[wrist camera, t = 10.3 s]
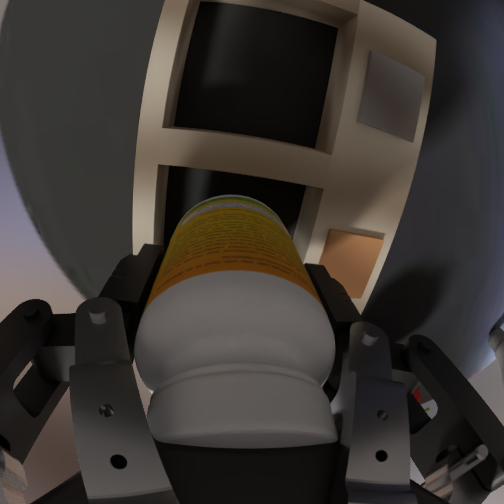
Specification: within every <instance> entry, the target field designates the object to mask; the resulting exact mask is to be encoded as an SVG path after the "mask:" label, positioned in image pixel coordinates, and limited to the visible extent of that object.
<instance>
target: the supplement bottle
mask: <svg viewBox="0 0 504 504" xmlns="http://www.w3.org/2000/svg"><path fill="white" fill-rule="evenodd" d="M134 355H135V362H136V366H137V369H138V372H139V374H140V377H141V378H142V380H143V382H144V384H145V385H146V387H147V388H148V389H149V391H150V392H151V393H152V396H151V400H150V405H149V407H148V413H147V422H148V425H149V428H150V431H151V434H152V435H153V437H154V438H155V439H156V440H158V441H160V442H164V443H172V444H180V445H189V446H200V447H215V448H283V447H297V446H308V445H317V444H325V443H333V442H336V441H337V440H338V434H337V430H336V426H335V422H334V419H333V415H332V410H331V406H330V402H329V399H328V397H327V396H326V394H325V393H324V391H323V388H322V386H323V385H324V383H325V382H326V380H327V378H328V376H329V374H330V372H331V369H332V367H333V364H334V358H335V339H334V334H333V330H332V327H331V324H330V322H329V319H328V316H327V314H326V311H325V309H324V307H323V305H322V302H321V300H320V298H319V296H318V294H317V292H316V290H315V288H314V285H313V283H312V281H311V279H310V277H309V275H308V273H307V271H306V269H305V267H304V264H303V262H302V260H301V258H300V256H299V254H298V252H297V250H296V247H295V245H294V243H293V241H292V239H291V237H290V235H289V233H288V231H287V229H286V227H285V226H284V224H283V222H282V221H281V219H280V218H279V217H278V216H277V214H276V213H275V212H274V211H273V210H271V209H270V208H269V207H268V206H266V205H265V204H263V203H262V202H260V201H258V200H255V199H253V198H250V197H247V196H241V195H221V196H216V197H212V198H209V199H207V200H204V201H202V202H200V203H199V204H197V205H196V206H194V207H193V208H192V209H190V210H189V211H188V212H187V213H186V214H185V215H184V216H183V218H182V219H181V220H180V222H179V224H178V225H177V227H176V229H175V231H174V234H173V236H172V238H171V240H170V243H169V246H168V248H167V251H166V253H165V256H164V259H163V261H162V263H161V266H160V268H159V271H158V274H157V276H156V279H155V282H154V284H153V287H152V290H151V293H150V295H149V298H148V300H147V303H146V306H145V308H144V311H143V314H142V317H141V320H140V323H139V327H138V330H137V334H136V338H135V346H134Z"/></svg>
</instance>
